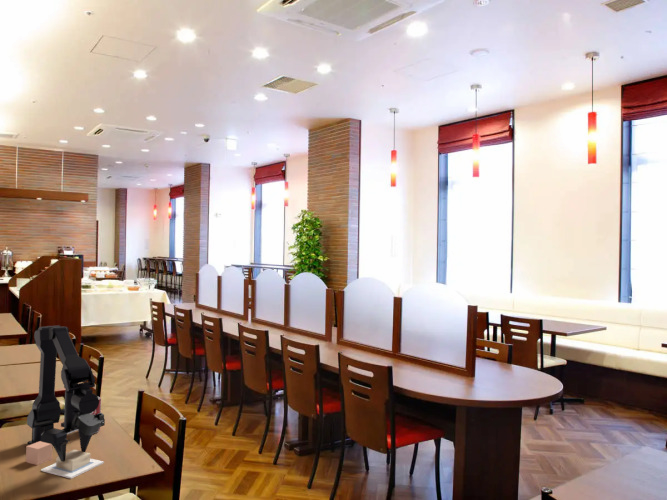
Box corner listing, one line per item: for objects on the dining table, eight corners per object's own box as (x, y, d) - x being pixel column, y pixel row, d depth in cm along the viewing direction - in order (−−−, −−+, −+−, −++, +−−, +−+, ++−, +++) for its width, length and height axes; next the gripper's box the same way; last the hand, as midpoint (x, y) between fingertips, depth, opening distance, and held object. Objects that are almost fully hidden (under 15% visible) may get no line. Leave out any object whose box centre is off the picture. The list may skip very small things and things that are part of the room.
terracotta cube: (25, 462, 157) (26, 446, 157) (40, 456, 162) (41, 440, 162) (37, 465, 155) (38, 449, 155) (51, 459, 160) (52, 443, 160)
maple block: (56, 467, 153) (56, 457, 153) (74, 459, 159) (74, 449, 159) (72, 471, 151) (72, 461, 151) (89, 463, 157) (90, 453, 157)
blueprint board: (41, 470, 151) (41, 468, 151) (74, 456, 163) (74, 454, 163) (71, 478, 147) (71, 476, 147) (103, 463, 158) (103, 461, 158)
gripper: (69, 418, 143) (67, 474, 143) (119, 401, 161) (117, 450, 161) (40, 412, 147) (38, 466, 147) (92, 396, 165) (90, 444, 165)
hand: (73, 456), depth 155 cm, fingers open, 7 cm apart
